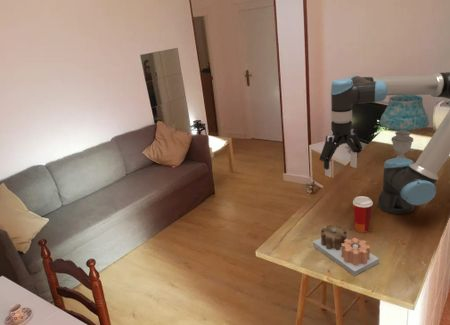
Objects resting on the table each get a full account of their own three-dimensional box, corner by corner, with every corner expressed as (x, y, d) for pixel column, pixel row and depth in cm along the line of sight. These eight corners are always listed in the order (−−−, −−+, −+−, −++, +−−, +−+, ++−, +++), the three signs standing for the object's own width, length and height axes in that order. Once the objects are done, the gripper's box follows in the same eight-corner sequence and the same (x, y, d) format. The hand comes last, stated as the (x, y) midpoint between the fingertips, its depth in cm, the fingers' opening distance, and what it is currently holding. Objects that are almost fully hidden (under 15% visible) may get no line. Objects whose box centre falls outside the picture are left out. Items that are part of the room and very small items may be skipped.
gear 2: (354, 245, 133) (354, 235, 131) (375, 258, 125) (375, 247, 123) (335, 255, 129) (335, 244, 127) (355, 268, 121) (356, 257, 119)
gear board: (335, 235, 144) (335, 221, 141) (378, 263, 125) (379, 247, 123) (312, 245, 139) (312, 231, 137) (354, 275, 121) (355, 259, 118)
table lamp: (432, 173, 185) (441, 100, 170) (387, 177, 187) (392, 105, 172) (411, 157, 207) (417, 91, 193) (371, 161, 209) (374, 96, 194)
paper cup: (366, 222, 150) (368, 194, 144) (374, 232, 142) (376, 203, 137) (349, 225, 150) (349, 196, 144) (356, 235, 142) (356, 205, 137)
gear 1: (334, 233, 142) (334, 220, 140) (351, 244, 134) (352, 230, 132) (316, 241, 138) (316, 228, 136) (333, 253, 130) (333, 239, 128)
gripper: (357, 112, 139) (356, 160, 147) (309, 126, 129) (310, 177, 137) (372, 115, 133) (370, 165, 141) (323, 130, 123) (323, 183, 131)
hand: (341, 171), depth 139 cm, fingers open, 13 cm apart
